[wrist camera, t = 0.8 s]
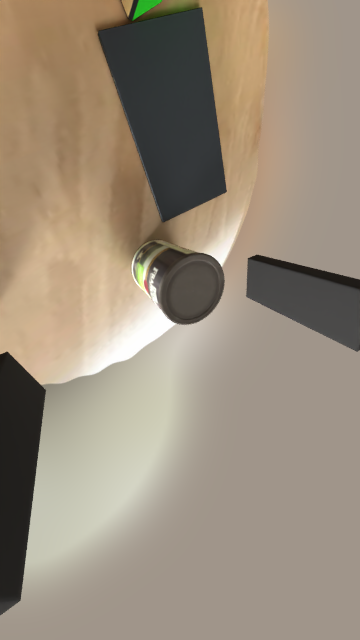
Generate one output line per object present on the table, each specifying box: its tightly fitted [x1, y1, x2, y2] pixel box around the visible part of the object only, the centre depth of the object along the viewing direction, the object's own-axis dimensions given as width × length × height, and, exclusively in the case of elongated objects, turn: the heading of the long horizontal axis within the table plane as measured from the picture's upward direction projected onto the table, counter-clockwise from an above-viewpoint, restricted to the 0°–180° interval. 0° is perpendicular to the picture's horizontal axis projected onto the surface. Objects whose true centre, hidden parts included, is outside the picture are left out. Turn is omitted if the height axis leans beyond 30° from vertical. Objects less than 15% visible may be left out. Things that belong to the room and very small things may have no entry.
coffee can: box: [132, 240, 225, 325], centre depth 31 cm, size 10×10×14 cm
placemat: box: [98, 7, 227, 222], centre depth 28 cm, size 20×14×1 cm
